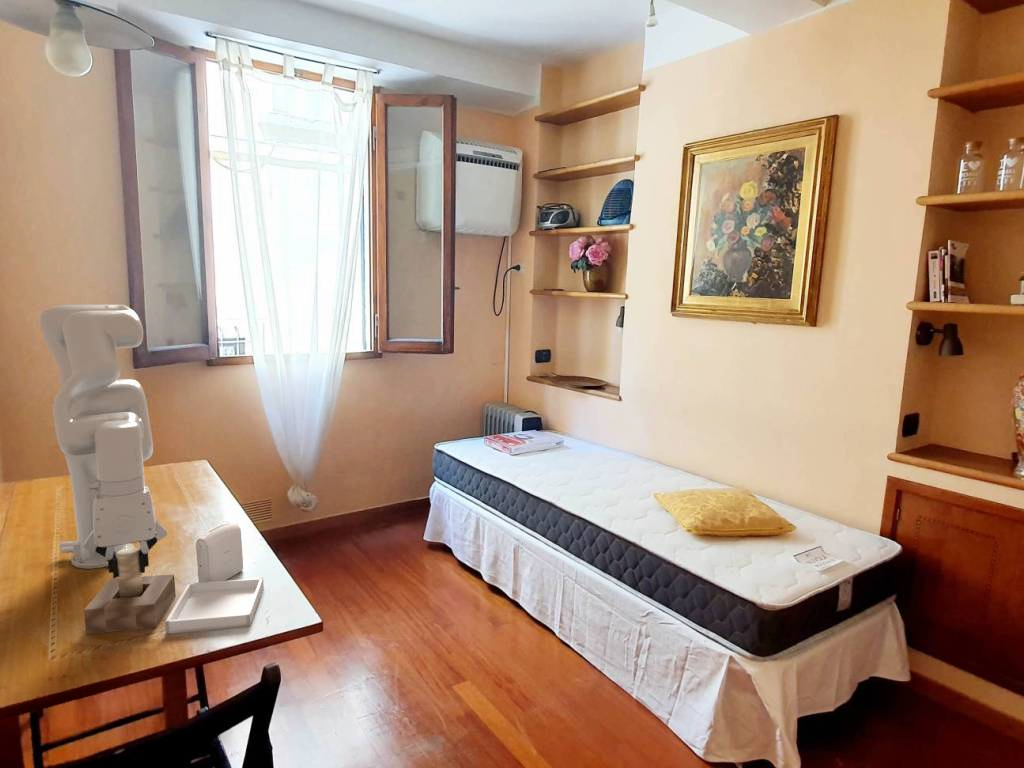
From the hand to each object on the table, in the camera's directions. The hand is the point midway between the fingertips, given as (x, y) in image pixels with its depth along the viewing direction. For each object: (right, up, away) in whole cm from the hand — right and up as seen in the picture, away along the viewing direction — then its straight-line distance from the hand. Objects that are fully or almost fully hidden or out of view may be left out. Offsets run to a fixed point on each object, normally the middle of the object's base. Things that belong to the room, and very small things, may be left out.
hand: (129, 571), depth 122 cm
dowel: (0, -6, +1) cm, 6 cm away
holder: (0, -9, +1) cm, 9 cm away
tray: (+16, -9, +4) cm, 19 cm away
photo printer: (+11, -7, +16) cm, 21 cm away
